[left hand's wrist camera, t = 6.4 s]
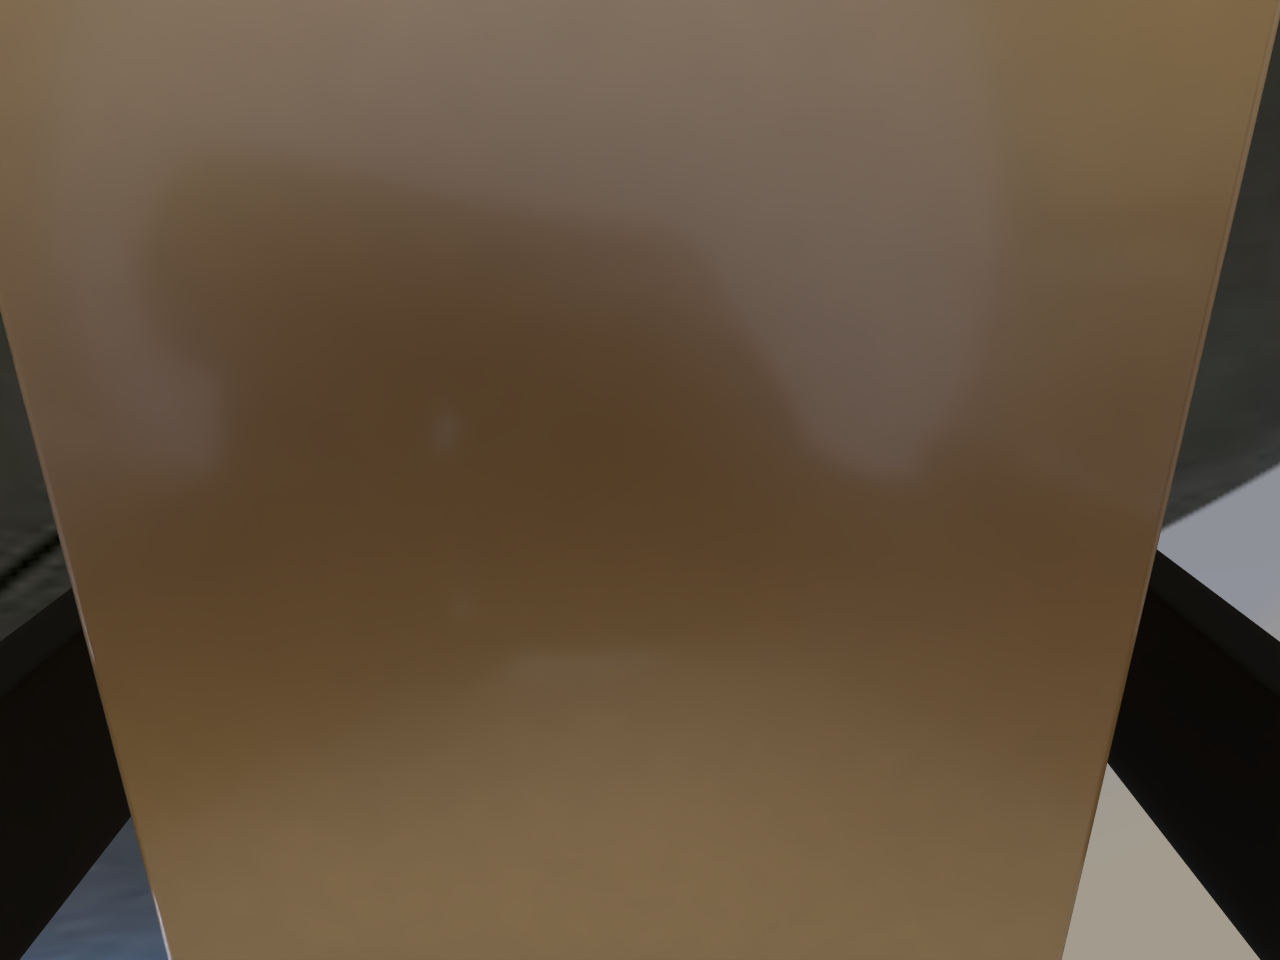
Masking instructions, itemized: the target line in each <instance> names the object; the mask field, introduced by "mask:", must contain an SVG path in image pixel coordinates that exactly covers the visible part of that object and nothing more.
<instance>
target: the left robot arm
mask: <svg viewBox="0 0 1280 960" xmlns="http://www.w3.org/2000/svg"><path fill="white" fill-rule="evenodd" d="M1107 763H1108V764H1109V765H1110V767H1111V768H1112V769H1113V770H1114V772H1115V773H1116V774H1117V776H1118V777H1119V778H1120V779H1121V781H1122V782H1123V783H1124V785H1125V786H1126V787H1127V788H1128V790H1129V791H1130V792H1131V794H1132V795H1133V796H1134V797H1135V799H1136V800H1137V801H1138V803H1139V804H1140V805H1141V806H1142V808H1143V809H1144V810H1145V812H1146V813H1147V814H1148V815H1149V817H1150V818H1151V819H1152V821H1153V822H1154V823H1155V825H1156V826H1157V827H1158V828H1159V830H1160V831H1161V832H1162V834H1163V835H1164V836H1165V837H1166V839H1167V840H1168V841H1169V842H1170V844H1171V845H1172V846H1173V848H1174V849H1175V850H1176V851H1177V853H1178V854H1179V855H1180V857H1181V858H1182V859H1183V860H1184V862H1185V863H1186V864H1187V866H1188V867H1189V868H1190V870H1191V871H1192V872H1193V873H1194V875H1195V876H1196V877H1197V879H1198V880H1199V881H1200V882H1201V884H1202V885H1203V886H1204V888H1205V889H1206V890H1207V891H1208V893H1209V894H1210V895H1211V897H1212V898H1213V899H1214V900H1215V902H1216V903H1217V904H1218V906H1219V907H1220V908H1221V909H1222V911H1223V912H1224V913H1225V915H1226V916H1227V917H1228V918H1229V920H1230V921H1231V922H1232V924H1233V925H1234V926H1235V927H1236V929H1237V930H1238V931H1239V933H1240V934H1241V935H1242V937H1243V938H1244V939H1245V940H1246V942H1247V943H1248V944H1249V946H1250V947H1251V948H1252V949H1253V951H1254V952H1255V953H1256V955H1257V956H1258V957H1259V958H1260V960H1280V642H1279V641H1278V640H1277V639H1275V638H1274V637H1273V636H1271V635H1270V634H1269V633H1267V632H1266V631H1265V630H1263V629H1262V628H1261V627H1259V626H1258V625H1257V624H1255V623H1254V622H1253V621H1251V620H1250V619H1249V618H1247V617H1246V616H1245V615H1243V614H1242V613H1241V612H1239V611H1238V610H1237V609H1235V608H1234V607H1233V606H1231V605H1230V604H1229V603H1227V602H1226V601H1225V600H1223V599H1222V598H1221V597H1219V596H1218V595H1217V594H1215V593H1214V592H1213V591H1211V590H1210V589H1209V588H1208V587H1206V586H1205V585H1204V584H1202V583H1201V582H1199V581H1198V580H1197V579H1196V578H1194V577H1193V576H1192V575H1190V574H1189V573H1188V572H1186V571H1185V570H1183V569H1182V568H1181V567H1180V566H1178V565H1177V564H1176V563H1174V562H1173V561H1172V560H1170V559H1169V558H1168V557H1166V556H1165V555H1164V554H1162V553H1161V552H1160V551H1158V550H1156V554H1155V558H1154V563H1153V567H1152V571H1151V576H1150V580H1149V584H1148V589H1147V593H1146V597H1145V602H1144V606H1143V610H1142V615H1141V619H1140V623H1139V627H1138V632H1137V636H1136V640H1135V645H1134V649H1133V653H1132V658H1131V662H1130V666H1129V671H1128V675H1127V679H1126V684H1125V688H1124V692H1123V697H1122V701H1121V705H1120V709H1119V714H1118V718H1117V722H1116V727H1115V731H1114V735H1113V740H1112V744H1111V748H1110V753H1109V757H1108V761H1107ZM130 817H131V814H130V810H129V806H128V802H127V798H126V794H125V790H124V786H123V783H122V779H121V775H120V771H119V767H118V763H117V759H116V756H115V752H114V748H113V744H112V740H111V736H110V732H109V729H108V725H107V721H106V717H105V713H104V709H103V705H102V702H101V698H100V694H99V690H98V686H97V682H96V678H95V675H94V671H93V667H92V663H91V659H90V655H89V651H88V647H87V644H86V640H85V636H84V632H83V628H82V624H81V620H80V617H79V613H78V609H77V605H76V601H75V597H74V593H73V590H72V588H71V589H70V590H68V591H67V592H66V593H65V594H63V595H62V596H61V597H59V598H58V599H57V600H55V601H54V602H53V603H51V604H50V605H49V606H47V607H46V608H45V609H43V610H42V611H41V612H39V613H38V614H37V615H35V616H34V617H33V618H31V619H30V620H29V621H27V622H26V623H25V624H23V625H22V626H21V627H19V628H18V629H17V630H15V631H14V632H13V633H11V634H10V635H9V636H7V637H6V638H5V639H3V640H2V641H1V642H0V960H20V958H21V957H22V956H23V955H24V953H25V952H26V951H27V949H28V948H29V947H30V946H31V944H32V943H33V942H34V940H35V939H36V938H37V937H38V935H39V934H40V933H41V931H42V930H43V929H44V927H45V926H46V925H47V924H48V922H49V921H50V920H51V918H52V917H53V916H54V915H55V913H56V912H57V911H58V909H59V908H60V907H61V906H62V904H63V903H64V902H65V900H66V899H67V898H68V897H69V895H70V894H71V893H72V891H73V890H74V889H75V888H76V886H77V885H78V884H79V882H80V881H81V880H82V879H83V877H84V876H85V875H86V873H87V872H88V871H89V870H90V868H91V867H92V866H93V864H94V863H95V862H96V861H97V859H98V858H99V857H100V855H101V854H102V853H103V852H104V850H105V849H106V848H107V846H108V845H109V844H110V843H111V841H112V840H113V839H114V837H115V836H116V835H117V834H118V832H119V831H120V830H121V828H122V827H123V826H124V825H125V823H126V822H127V821H128V819H129V818H130Z"/></svg>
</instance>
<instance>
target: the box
mask: <svg viewBox="0 0 1280 960" xmlns="http://www.w3.org/2000/svg"><path fill="white" fill-rule="evenodd" d="M1279 19H1280V0H0V312H1V315H2V319H3V323H4V327H5V331H6V335H7V339H8V342H9V346H10V350H11V354H12V358H13V362H14V366H15V369H16V373H17V377H18V381H19V385H20V389H21V393H22V397H23V400H24V404H25V408H26V412H27V416H28V420H29V424H30V427H31V431H32V435H33V439H34V443H35V447H36V451H37V454H38V458H39V462H40V466H41V470H42V474H43V478H44V481H45V485H46V489H47V493H48V497H49V501H50V505H51V508H52V512H53V516H54V520H55V524H56V528H57V532H58V536H59V539H60V543H61V547H62V551H63V555H64V559H65V563H66V566H67V570H68V574H69V578H70V582H71V586H72V590H73V593H74V597H75V601H76V605H77V609H78V613H79V617H80V620H81V624H82V628H83V632H84V636H85V640H86V644H87V647H88V651H89V655H90V659H91V663H92V667H93V671H94V675H95V678H96V682H97V686H98V690H99V694H100V698H101V702H102V705H103V709H104V713H105V717H106V721H107V725H108V729H109V732H110V736H111V740H112V744H113V748H114V752H115V756H116V759H117V763H118V767H119V771H120V775H121V779H122V783H123V786H124V790H125V794H126V798H127V802H128V806H129V810H130V814H131V817H132V821H133V825H134V829H135V833H136V837H137V841H138V844H139V848H140V852H141V856H142V860H143V864H144V868H145V871H146V875H147V879H148V883H149V887H150V891H151V895H152V898H153V902H154V906H155V910H156V914H157V918H158V922H159V925H160V929H161V933H162V937H163V941H164V945H165V949H166V953H167V956H168V960H1062V956H1063V951H1064V947H1065V943H1066V938H1067V934H1068V930H1069V925H1070V921H1071V917H1072V912H1073V908H1074V904H1075V899H1076V895H1077V891H1078V886H1079V882H1080V878H1081V874H1082V869H1083V865H1084V861H1085V856H1086V852H1087V848H1088V843H1089V839H1090V835H1091V830H1092V826H1093V822H1094V817H1095V813H1096V809H1097V804H1098V800H1099V796H1100V791H1101V787H1102V783H1103V778H1104V774H1105V770H1106V765H1107V761H1108V757H1109V753H1110V748H1111V744H1112V740H1113V735H1114V731H1115V727H1116V722H1117V718H1118V714H1119V709H1120V705H1121V701H1122V697H1123V692H1124V688H1125V684H1126V679H1127V675H1128V671H1129V666H1130V662H1131V658H1132V653H1133V649H1134V645H1135V640H1136V636H1137V632H1138V627H1139V623H1140V619H1141V615H1142V610H1143V606H1144V602H1145V597H1146V593H1147V589H1148V584H1149V580H1150V576H1151V571H1152V567H1153V563H1154V558H1155V554H1156V550H1157V545H1158V541H1159V537H1160V532H1161V528H1162V524H1163V520H1164V515H1165V511H1166V507H1167V502H1168V498H1169V494H1170V489H1171V485H1172V481H1173V476H1174V472H1175V468H1176V463H1177V459H1178V455H1179V450H1180V446H1181V442H1182V438H1183V433H1184V429H1185V425H1186V420H1187V416H1188V412H1189V407H1190V403H1191V399H1192V394H1193V390H1194V386H1195V381H1196V377H1197V373H1198V368H1199V364H1200V360H1201V355H1202V351H1203V347H1204V343H1205V338H1206V334H1207V330H1208V325H1209V321H1210V317H1211V312H1212V308H1213V304H1214V299H1215V295H1216V291H1217V286H1218V282H1219V278H1220V273H1221V269H1222V265H1223V261H1224V256H1225V252H1226V248H1227V243H1228V239H1229V235H1230V230H1231V226H1232V222H1233V217H1234V213H1235V209H1236V204H1237V200H1238V196H1239V191H1240V187H1241V183H1242V178H1243V174H1244V170H1245V166H1246V161H1247V157H1248V153H1249V148H1250V144H1251V140H1252V135H1253V131H1254V127H1255V122H1256V118H1257V114H1258V109H1259V105H1260V101H1261V96H1262V92H1263V88H1264V84H1265V79H1266V75H1267V71H1268V66H1269V62H1270V58H1271V53H1272V49H1273V45H1274V40H1275V36H1276V32H1277V27H1278V23H1279Z"/></svg>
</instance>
